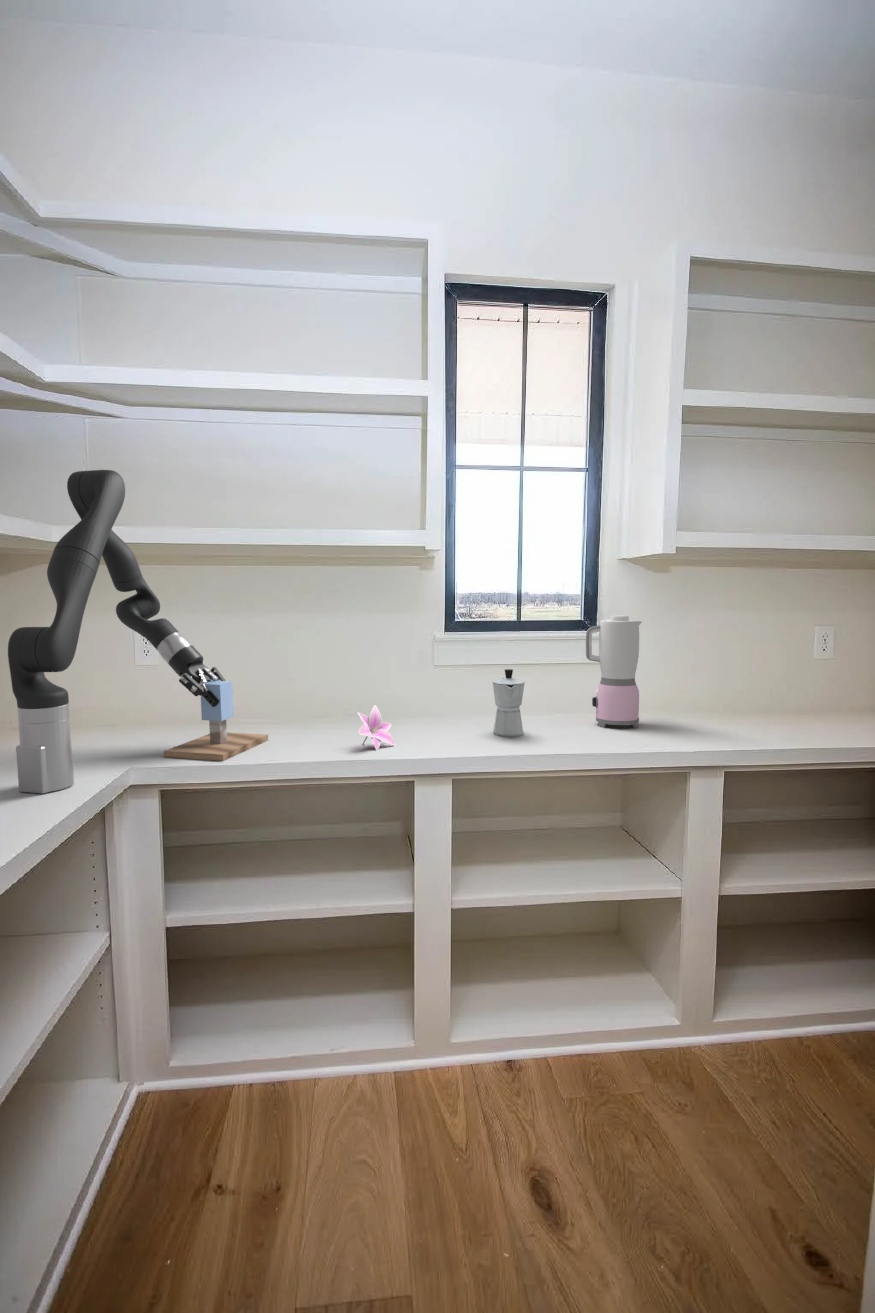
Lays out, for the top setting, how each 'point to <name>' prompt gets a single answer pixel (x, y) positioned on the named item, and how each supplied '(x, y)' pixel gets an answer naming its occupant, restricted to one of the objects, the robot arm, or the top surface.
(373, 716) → the lily
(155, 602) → the robot arm
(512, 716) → the coffee maker
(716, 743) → the top surface
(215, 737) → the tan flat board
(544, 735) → the top surface
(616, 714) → the blender
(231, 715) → the light blue block
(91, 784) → the top surface
